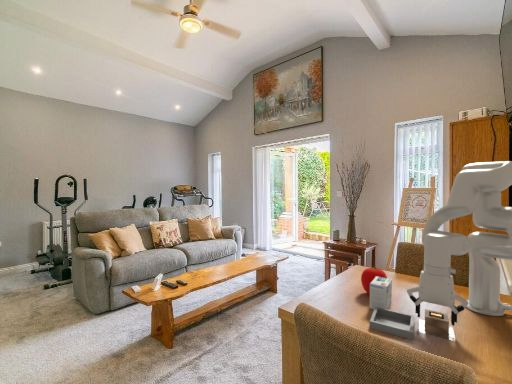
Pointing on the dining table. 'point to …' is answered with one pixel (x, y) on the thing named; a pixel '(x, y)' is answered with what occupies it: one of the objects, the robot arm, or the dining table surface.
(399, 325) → the tray
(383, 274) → the red rounded piece
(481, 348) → the dining table surface
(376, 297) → the light bulb box
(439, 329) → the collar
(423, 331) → the white piece
